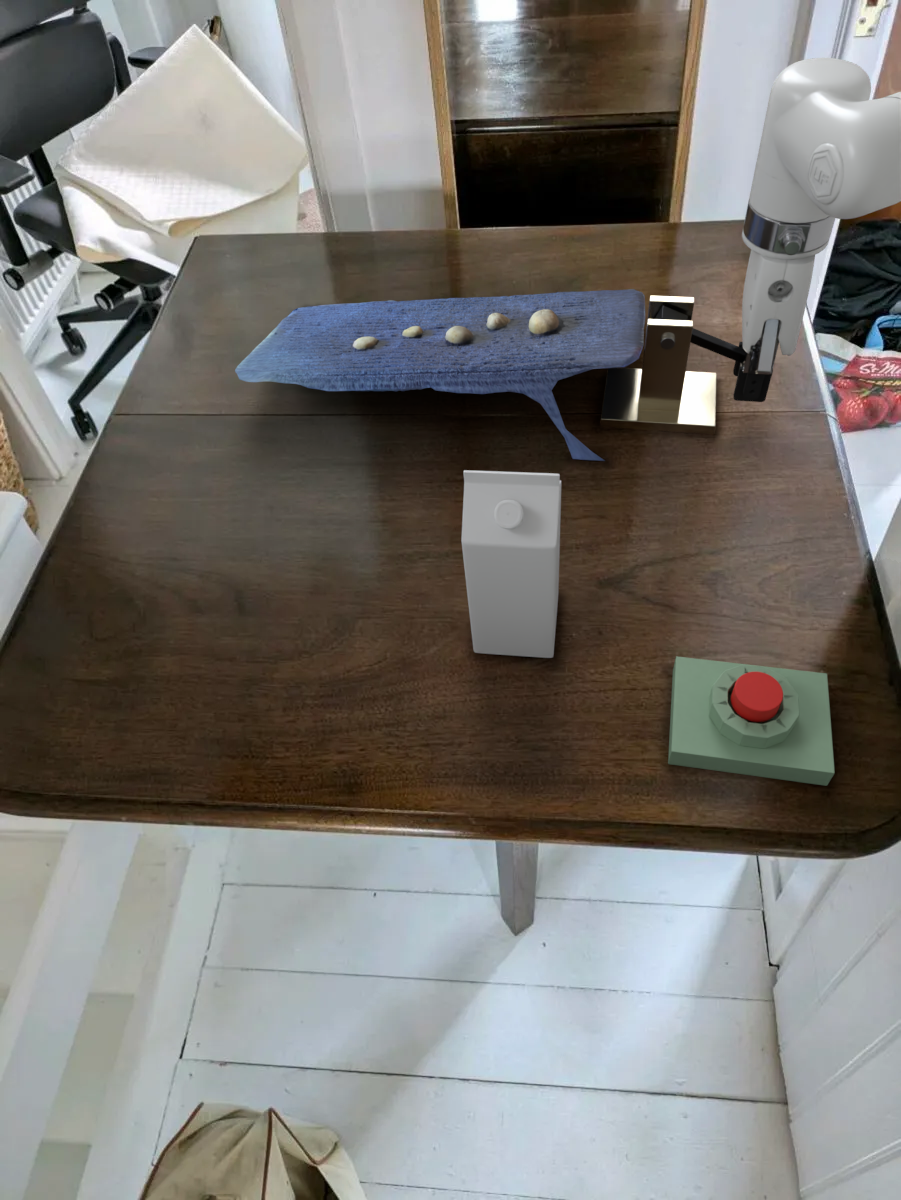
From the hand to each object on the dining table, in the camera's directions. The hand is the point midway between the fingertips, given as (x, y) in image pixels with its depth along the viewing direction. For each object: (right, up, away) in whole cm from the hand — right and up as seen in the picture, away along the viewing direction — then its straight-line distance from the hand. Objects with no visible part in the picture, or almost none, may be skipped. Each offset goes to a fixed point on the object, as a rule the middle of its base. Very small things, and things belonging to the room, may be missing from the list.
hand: (748, 385), depth 90 cm
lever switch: (-5, +3, -2) cm, 6 cm away
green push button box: (-8, -33, -21) cm, 40 cm away
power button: (-8, -31, -24) cm, 39 cm away
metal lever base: (-9, -1, +4) cm, 10 cm away
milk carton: (-26, -25, -12) cm, 38 cm away
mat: (-32, +4, +11) cm, 34 cm away
